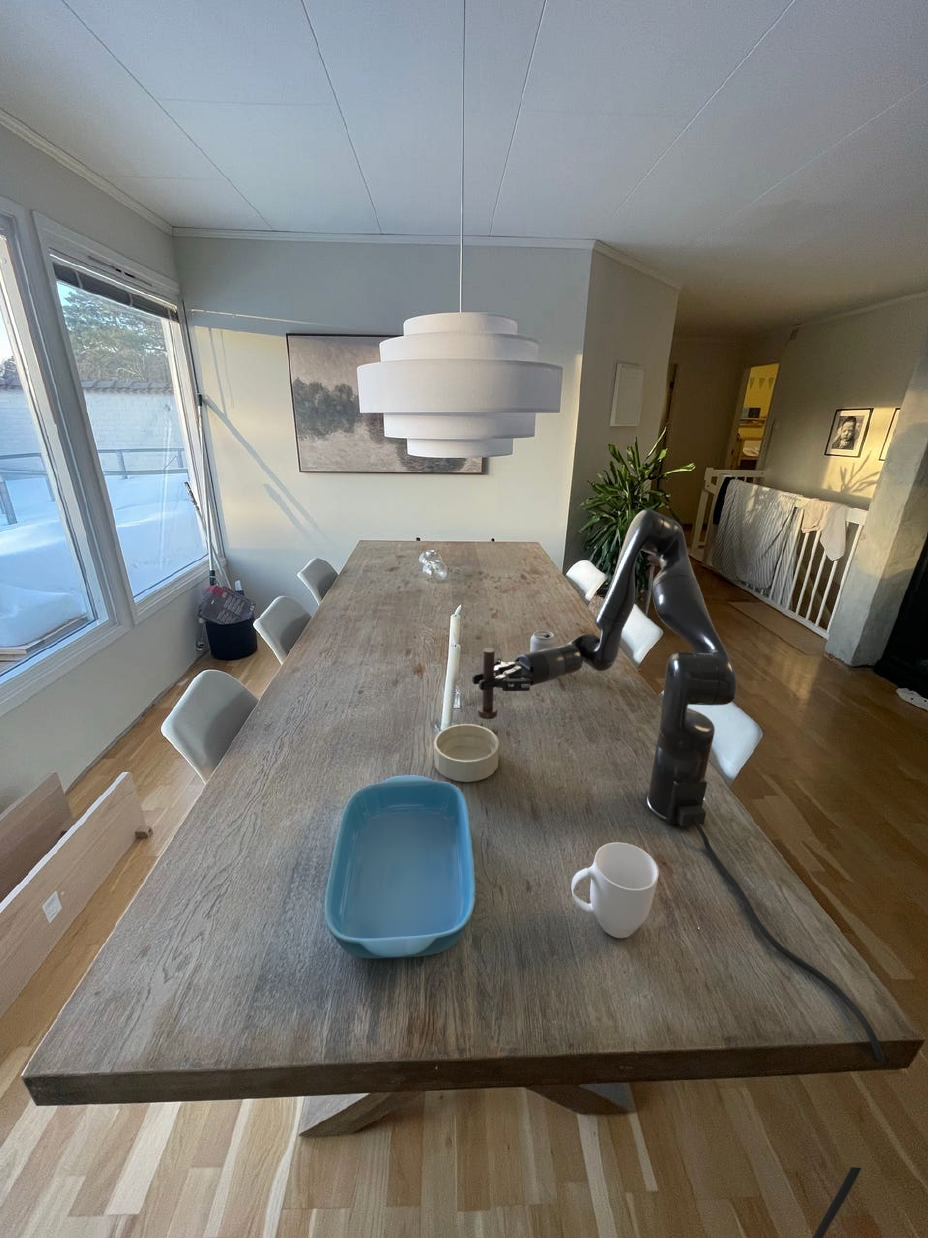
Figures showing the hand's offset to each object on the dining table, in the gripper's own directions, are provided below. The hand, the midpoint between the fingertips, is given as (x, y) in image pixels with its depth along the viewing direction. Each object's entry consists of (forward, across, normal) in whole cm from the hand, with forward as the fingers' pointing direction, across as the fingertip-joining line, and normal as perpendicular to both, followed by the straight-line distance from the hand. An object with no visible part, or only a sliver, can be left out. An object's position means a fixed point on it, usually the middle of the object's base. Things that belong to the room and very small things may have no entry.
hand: (476, 682), depth 112 cm
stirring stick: (-3, 0, +9) cm, 9 cm away
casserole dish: (+28, +25, +18) cm, 41 cm away
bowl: (+4, +3, +18) cm, 19 cm away
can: (-39, -27, +18) cm, 50 cm away
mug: (+4, +47, +18) cm, 51 cm away
